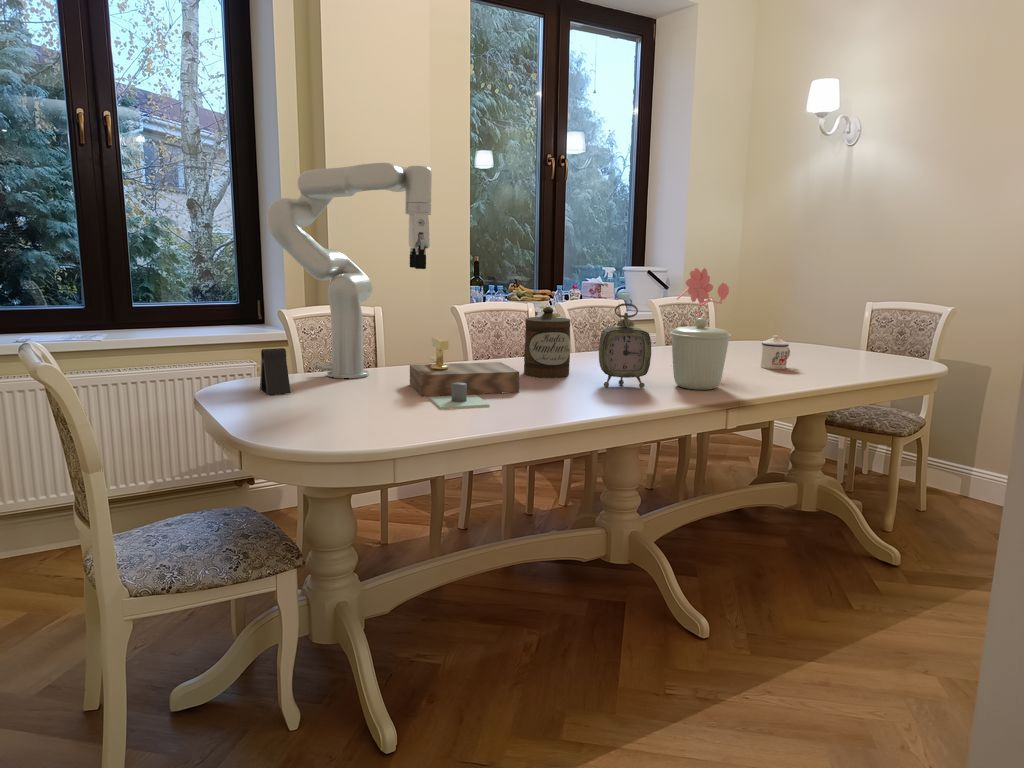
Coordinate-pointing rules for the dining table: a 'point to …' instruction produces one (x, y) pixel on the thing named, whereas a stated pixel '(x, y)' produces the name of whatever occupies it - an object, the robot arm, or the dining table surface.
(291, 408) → the dining table surface
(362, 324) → the robot arm
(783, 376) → the dining table surface
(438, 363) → the t-shaped display stand
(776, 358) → the teacup with lid
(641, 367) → the tabletop clock
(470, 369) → the walnut case
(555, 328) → the wooden container
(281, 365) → the black folding stand
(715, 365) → the canister
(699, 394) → the dining table surface
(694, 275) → the pink paper flower
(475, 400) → the lid
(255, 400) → the dining table surface
